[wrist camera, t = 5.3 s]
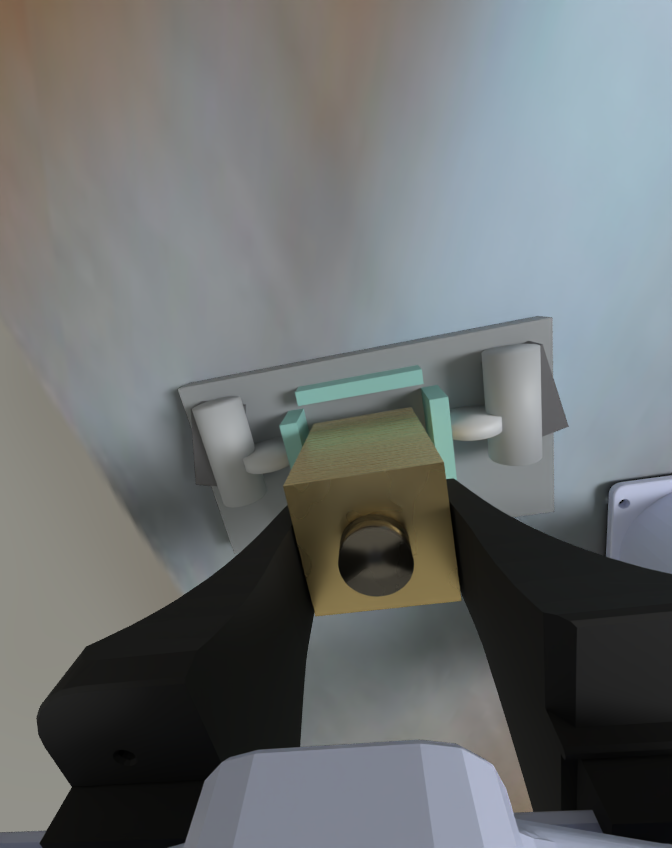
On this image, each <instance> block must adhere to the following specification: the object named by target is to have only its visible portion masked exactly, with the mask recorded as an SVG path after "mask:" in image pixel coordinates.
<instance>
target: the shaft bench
mask: <svg viewBox="0 0 672 848" xmlns="http://www.w3.org/2000/svg"><path fill="white" fill-rule="evenodd" d="M178 391H179V394H180V397H181V400H182V403H183V406H184V409H185V412H186V415H187V418H188V420H189V423H190V426H191V429H192V437H193V451H194V465H195V480H196V485H207V486H211V487H212V490H213V493H214V496H215V499H216V502H217V505H218V508H219V511H220V514H221V516H222V519H223V522H224V525H225V528H226V531H227V534H228V537H229V540H230V543H231V546H232V548H233V551H234V553H240V552H241V551H242V550H243V549H244V548H245V547H246V546H247V545H248V544H250V543H251V542H252V541H253V540H254V539H255V538H256V537H257V536H258V535H259V534H260V533H261V532H262V531H263V530H264V529H265V528H266V527H267V526H268V525H269V524H270V523H271V521H272V520H273V519H274V518H275V517H276V516H277V515H278V514H279V513H280V512H281V511H282V510H283V509H284V508H285V507H286V506H287V505H288V504H287V500H286V496H285V492H284V488H283V485H284V483H285V481H286V479H287V477H288V475H289V473H290V471H291V469H292V467H293V465H294V463H295V461H296V459H297V457H298V455H299V453H300V451H301V449H302V447H303V445H304V443H305V441H306V439H307V437H308V435H309V433H310V430H311V428H312V426H313V424H315V423H321V422H327V421H333V420H339V419H345V418H350V417H356V416H362V415H368V414H374V413H380V412H386V411H391V410H397V409H403V408H409V407H412V409H413V411H414V412H415V414H416V416H417V417H418V419H419V421H420V422H421V424H422V426H423V428H424V429H425V431H426V433H427V434H428V436H429V438H430V439H431V441H432V443H433V444H434V446H435V448H436V449H437V451H438V453H439V454H440V456H441V458H442V460H443V461H444V466H445V474H446V479H451V478H454V479H455V480H457V481H458V482H460V483H461V484H462V485H464V486H465V487H466V488H468V489H469V490H471V491H472V492H473V493H475V494H476V495H478V496H479V497H480V498H482V499H483V500H485V501H486V502H488V503H489V504H491V505H493V506H494V507H496V508H497V509H499V510H501V511H502V512H504V513H506V514H507V515H509V516H511V517H519V516H527V515H534V514H542V513H550V512H554V439H553V432H556V431H558V430H561V429H563V428H566V427H569V426H568V423H567V420H566V417H565V414H564V411H563V407H562V404H561V401H560V398H559V395H558V391H557V388H556V385H555V382H554V379H553V329H552V317H543V316H536V317H531V318H525V319H520V320H515V321H510V322H505V323H499V324H494V325H489V326H484V327H479V328H473V329H468V330H463V331H458V332H452V333H447V334H442V335H437V336H432V337H426V338H421V339H416V340H411V341H406V342H400V343H395V344H390V345H385V346H379V347H374V348H369V349H364V350H359V351H353V352H348V353H343V354H338V355H333V356H327V357H322V358H317V359H312V360H307V361H301V362H296V363H291V364H286V365H280V366H275V367H270V368H265V369H260V370H254V371H249V372H244V373H239V374H234V375H228V376H223V377H218V378H213V379H207V380H202V381H197V382H192V383H188V384H186V385H184V386H182V387H180V388H178Z"/></svg>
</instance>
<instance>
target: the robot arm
mask: <svg viewBox="0 0 672 848" xmlns="http://www.w3.org/2000/svg"><path fill="white" fill-rule="evenodd" d="M446 482H447V490H448V498H449V506H450V514H451V522H452V530H453V538H454V545H455V553H456V561H457V569H458V577H459V585H460V591H461V594H462V596H463V598H464V601H465V603H466V605H467V608H468V610H469V612H470V615H471V617H472V619H473V622H474V624H475V626H476V629H477V631H478V634H479V637H480V639H481V642H482V645H483V648H484V651H485V654H486V657H487V660H488V663H489V666H490V669H491V673H492V676H493V679H494V682H495V685H496V688H497V692H498V695H499V698H500V701H501V705H502V708H503V711H504V714H505V717H506V721H507V724H508V727H509V731H510V734H511V737H512V741H513V744H514V747H515V751H516V754H517V757H518V761H519V764H520V767H521V771H522V774H523V777H524V781H525V784H526V788H527V791H528V795H529V798H530V801H531V805H532V808H533V812H521V813H513V810H512V807H511V804H510V800H509V797H508V794H507V790H506V788H505V786H504V784H503V782H502V780H501V779H500V777H499V775H498V773H497V771H496V769H495V767H494V766H493V764H491V763H490V762H488V761H487V760H485V759H484V758H482V757H480V756H478V755H476V754H475V753H473V752H471V751H469V750H467V749H465V748H463V747H462V746H460V745H458V744H456V743H447V742H438V741H428V740H405V741H389V742H373V743H357V744H341V745H325V746H309V747H300V739H301V723H302V708H303V693H304V681H305V668H306V658H307V651H308V644H309V638H310V633H311V627H312V622H313V616H314V609H313V605H312V601H311V597H310V593H309V589H308V584H307V580H306V576H305V572H304V568H303V564H302V560H301V556H300V552H299V548H298V544H297V540H296V536H295V532H294V528H293V524H292V520H291V516H290V512H289V508H288V505H287V506H286V507H285V508H284V509H283V510H282V511H281V512H280V513H279V514H278V515H277V516H276V517H275V518H274V519H273V520H272V521H271V523H270V524H269V525H268V526H267V527H266V528H265V529H264V530H263V531H262V532H261V533H260V534H259V535H258V536H257V537H256V538H255V539H254V540H253V541H252V542H251V543H250V544H248V545H247V546H246V547H245V548H244V549H243V550H242V551H241V552H240V553H239V554H238V555H237V556H236V557H234V558H233V559H232V560H231V561H230V562H229V563H227V564H226V565H225V566H224V567H222V568H221V569H220V570H219V571H217V572H216V573H215V574H213V575H212V576H211V577H209V578H208V579H207V580H205V581H204V582H202V583H201V584H199V585H198V586H196V587H195V588H193V589H192V590H190V591H189V592H187V593H186V594H184V595H183V596H182V597H180V598H179V599H177V600H175V601H174V602H172V603H170V604H169V605H167V606H165V607H164V608H162V609H160V610H158V611H157V612H155V613H153V614H151V615H149V616H148V617H146V618H144V619H142V620H140V621H138V622H137V623H135V624H133V625H131V626H129V627H127V628H125V629H123V630H120V631H118V632H116V633H114V634H112V635H110V636H108V637H106V638H104V639H102V640H100V641H98V642H95V643H93V644H91V645H89V646H86V648H85V649H84V650H83V651H82V653H81V654H80V655H79V657H78V658H77V659H76V661H75V662H74V663H73V664H72V666H71V667H70V668H69V670H68V671H67V672H66V673H65V675H64V676H63V677H62V679H61V680H60V681H59V683H58V684H57V685H56V686H55V688H54V689H53V690H52V691H51V693H50V694H49V695H48V697H47V698H46V699H45V700H44V702H43V703H42V704H41V706H40V708H39V711H38V715H37V726H38V734H39V737H40V738H41V741H42V743H43V745H44V746H45V748H46V750H47V751H48V753H49V754H50V756H51V757H52V758H53V760H54V761H55V763H56V764H57V766H58V767H59V769H60V770H61V772H62V773H63V774H64V776H65V777H66V779H67V780H68V782H69V783H70V785H71V786H72V788H71V790H70V792H69V793H68V795H67V797H66V799H65V800H64V802H63V804H62V805H61V807H60V809H59V811H58V812H57V814H56V816H55V817H54V819H53V821H52V822H51V824H50V826H49V828H48V829H47V831H27V832H0V848H672V475H670V476H662V477H655V478H648V479H640V480H633V481H626V482H619V483H616V484H615V485H613V486H612V487H611V488H610V491H609V502H608V524H607V546H606V556H602V555H599V554H596V553H593V552H590V551H587V550H585V549H582V548H579V547H577V546H574V545H571V544H568V543H566V542H563V541H561V540H558V539H556V538H554V537H551V536H549V535H547V534H545V533H543V532H540V531H538V530H536V529H534V528H532V527H530V526H528V525H526V524H524V523H522V522H520V521H518V520H516V519H515V518H513V517H511V516H509V515H507V514H506V513H504V512H502V511H501V510H499V509H497V508H496V507H494V506H493V505H491V504H489V503H488V502H486V501H485V500H483V499H482V498H480V497H479V496H478V495H476V494H475V493H473V492H472V491H471V490H469V489H468V488H466V487H465V486H464V485H462V484H461V483H460V482H458V481H457V480H455V479H454V478H451V479H446ZM621 500H624V501H623V502H622V503H621V504H619V502H620V501H621Z"/></svg>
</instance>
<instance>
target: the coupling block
mask: <svg viewBox="0 0 672 848" xmlns="http://www.w3.org/2000/svg"><path fill="white" fill-rule="evenodd" d="M283 488H284V492H285V496H286V500H287V504H288V508H289V512H290V516H291V520H292V524H293V528H294V532H295V536H296V540H297V544H298V548H299V552H300V556H301V560H302V564H303V568H304V572H305V576H306V580H307V584H308V589H309V593H310V597H311V601H312V605H313V609H314V613H315V616H323V615H333V614H342V613H352V612H361V611H370V610H380V609H389V608H399V607H408V606H417V605H427V604H436V603H446V602H455V601H461V593H460V585H459V577H458V569H457V561H456V553H455V545H454V538H453V530H452V522H451V514H450V506H449V498H448V490H447V482H446V474H445V466H444V461H443V460H442V458H441V456H440V454H439V453H438V451H437V449H436V448H435V446H434V444H433V443H432V441H431V439H430V438H429V436H428V434H427V433H426V431H425V429H424V428H423V426H422V424H421V422H420V421H419V419H418V417H417V416H416V414H415V412H414V411H413V409H412V407H409V408H403V409H397V410H391V411H386V412H380V413H374V414H368V415H362V416H356V417H350V418H345V419H339V420H333V421H327V422H321V423H315V424H313V426H312V428H311V430H310V433H309V435H308V437H307V439H306V441H305V443H304V445H303V447H302V449H301V451H300V453H299V455H298V457H297V459H296V461H295V463H294V465H293V467H292V469H291V471H290V473H289V475H288V477H287V479H286V481H285V483H284V485H283Z"/></svg>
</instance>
